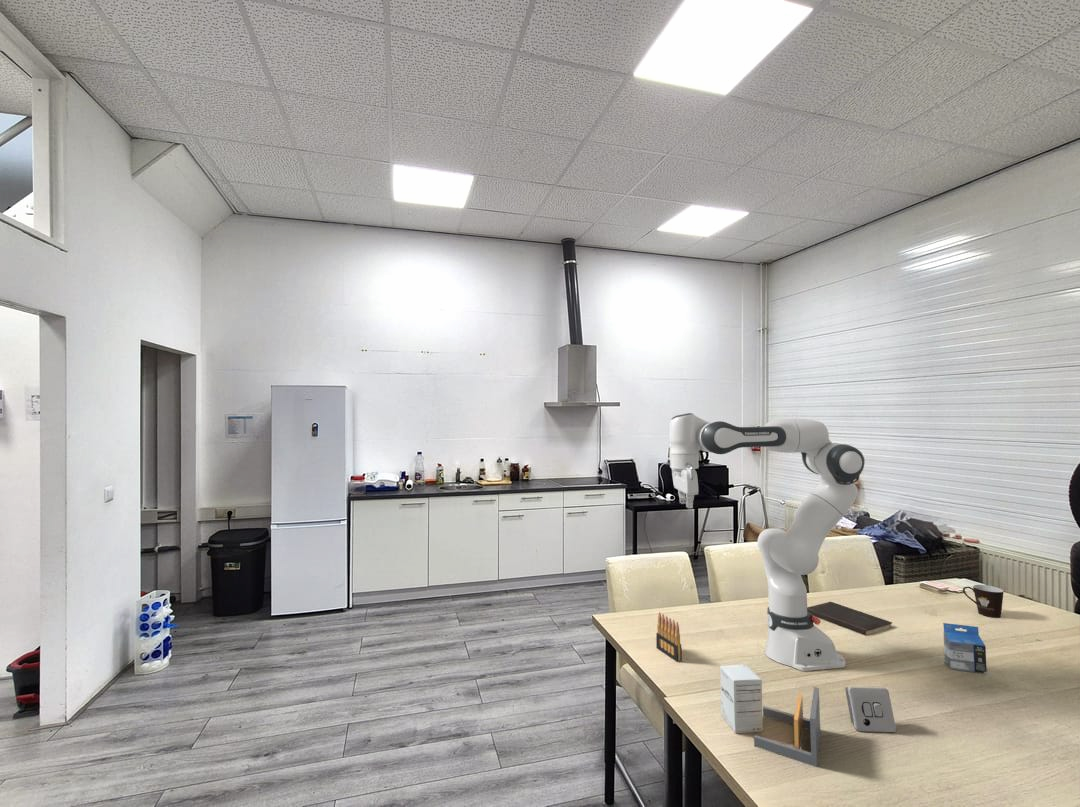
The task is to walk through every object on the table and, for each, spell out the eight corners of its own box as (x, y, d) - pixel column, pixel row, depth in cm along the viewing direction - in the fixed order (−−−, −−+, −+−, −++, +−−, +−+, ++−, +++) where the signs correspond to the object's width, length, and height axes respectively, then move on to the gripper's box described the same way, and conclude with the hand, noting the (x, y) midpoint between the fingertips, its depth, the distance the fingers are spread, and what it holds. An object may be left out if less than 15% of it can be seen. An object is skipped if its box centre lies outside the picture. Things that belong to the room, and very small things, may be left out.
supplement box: (720, 715, 121) (719, 664, 122) (748, 713, 122) (746, 663, 122) (734, 734, 114) (733, 680, 114) (764, 732, 114) (762, 678, 115)
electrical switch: (856, 732, 114) (853, 690, 115) (844, 721, 119) (841, 681, 121) (897, 733, 114) (893, 692, 115) (883, 722, 119) (879, 682, 120)
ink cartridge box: (950, 669, 143) (948, 627, 143) (944, 663, 146) (942, 622, 147) (987, 674, 140) (985, 631, 140) (980, 668, 143) (978, 626, 144)
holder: (754, 746, 109) (753, 701, 110) (763, 713, 122) (762, 673, 122) (816, 766, 103) (815, 719, 103) (820, 730, 115) (818, 688, 115)
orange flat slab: (794, 751, 106) (793, 719, 107) (799, 723, 116) (798, 693, 116) (798, 752, 106) (797, 720, 106) (803, 724, 116) (802, 694, 116)
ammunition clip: (682, 661, 149) (681, 622, 150) (677, 662, 148) (676, 623, 149) (660, 646, 159) (660, 610, 160) (656, 647, 158) (655, 611, 159)
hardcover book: (830, 607, 194) (830, 601, 194) (892, 628, 173) (892, 622, 173) (804, 614, 187) (804, 608, 187) (865, 637, 166) (865, 630, 166)
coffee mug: (1011, 619, 179) (1010, 592, 179) (988, 619, 179) (987, 592, 179) (983, 607, 190) (982, 582, 191) (961, 607, 191) (960, 582, 191)
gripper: (702, 464, 145) (704, 510, 144) (687, 461, 165) (688, 501, 164) (681, 465, 145) (683, 510, 145) (668, 461, 166) (670, 501, 165)
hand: (686, 505), depth 155 cm, fingers open, 8 cm apart
